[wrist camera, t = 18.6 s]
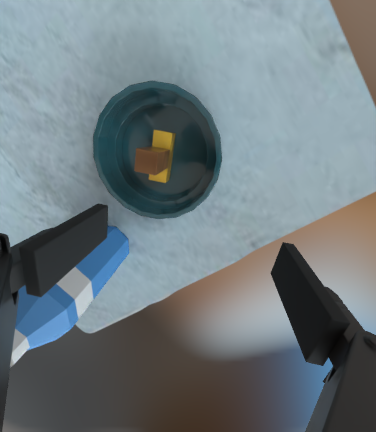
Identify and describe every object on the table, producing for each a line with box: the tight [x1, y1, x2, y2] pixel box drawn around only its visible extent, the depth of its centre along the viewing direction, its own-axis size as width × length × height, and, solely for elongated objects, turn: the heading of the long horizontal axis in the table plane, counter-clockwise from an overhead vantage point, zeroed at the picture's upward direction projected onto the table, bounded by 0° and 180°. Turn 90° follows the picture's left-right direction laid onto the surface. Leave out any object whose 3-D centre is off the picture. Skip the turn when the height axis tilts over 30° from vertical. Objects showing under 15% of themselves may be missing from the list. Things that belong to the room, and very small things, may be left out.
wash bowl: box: [93, 81, 222, 219], centre depth 33 cm, size 20×20×6 cm
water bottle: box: [10, 226, 129, 367], centre depth 33 cm, size 9×9×25 cm
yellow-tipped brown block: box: [134, 130, 176, 183], centre depth 31 cm, size 8×3×10 cm, turn 170°
